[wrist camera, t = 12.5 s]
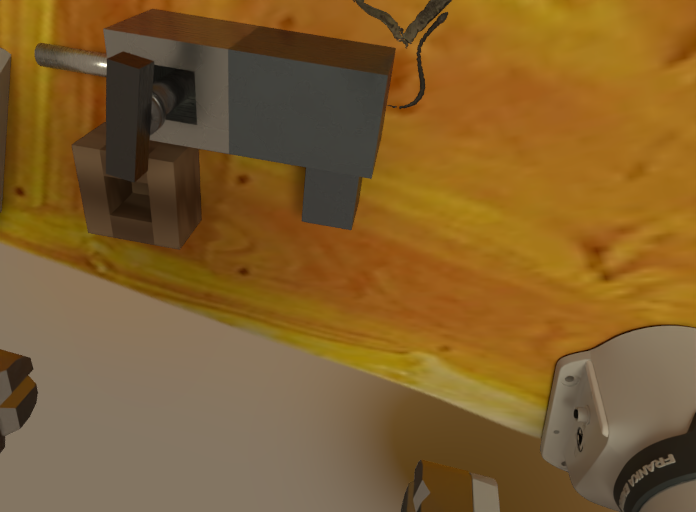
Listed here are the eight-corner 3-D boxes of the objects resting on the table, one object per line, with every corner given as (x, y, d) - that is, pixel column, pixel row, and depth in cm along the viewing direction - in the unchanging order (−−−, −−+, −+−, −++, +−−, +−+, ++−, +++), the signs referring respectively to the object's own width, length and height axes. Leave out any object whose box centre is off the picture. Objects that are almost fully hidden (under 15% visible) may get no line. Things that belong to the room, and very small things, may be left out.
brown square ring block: (201, 219, 49) (179, 249, 45) (117, 204, 49) (88, 232, 45) (197, 137, 44) (173, 162, 40) (105, 121, 45) (71, 144, 41)
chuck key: (217, 32, 37) (148, 72, 28) (206, 124, 41) (142, 185, 32) (179, 20, 37) (97, 55, 28) (171, 113, 41) (97, 171, 32)
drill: (395, 48, 38) (387, 75, 32) (369, 205, 46) (359, 250, 40) (61, -6, 39) (-4, 11, 34) (88, 156, 47) (39, 192, 41)
